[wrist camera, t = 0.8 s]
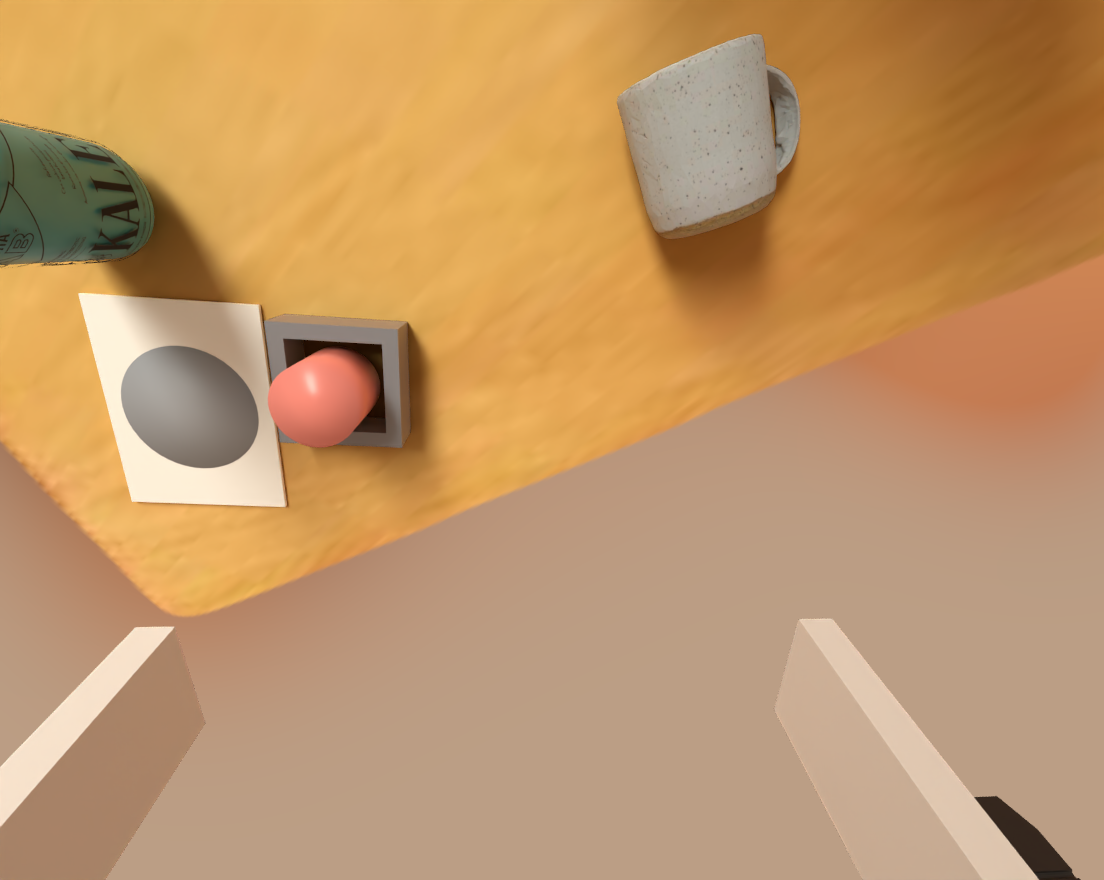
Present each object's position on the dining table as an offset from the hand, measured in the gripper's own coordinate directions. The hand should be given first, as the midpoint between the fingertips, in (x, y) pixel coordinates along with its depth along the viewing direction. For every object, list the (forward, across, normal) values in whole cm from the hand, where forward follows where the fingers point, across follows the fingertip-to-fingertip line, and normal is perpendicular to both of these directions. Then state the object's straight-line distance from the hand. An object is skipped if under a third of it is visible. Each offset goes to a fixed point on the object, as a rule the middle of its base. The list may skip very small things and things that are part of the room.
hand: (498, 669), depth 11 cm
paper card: (+27, -23, -4) cm, 35 cm away
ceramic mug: (+28, +11, +14) cm, 33 cm away
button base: (+27, -12, -1) cm, 29 cm away
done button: (+25, -11, -1) cm, 28 cm away
